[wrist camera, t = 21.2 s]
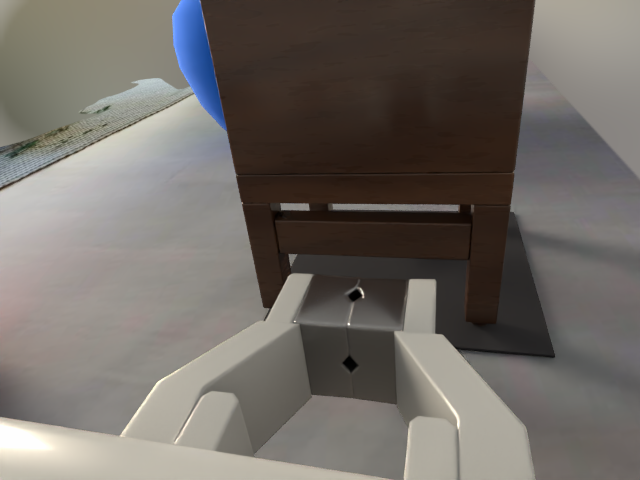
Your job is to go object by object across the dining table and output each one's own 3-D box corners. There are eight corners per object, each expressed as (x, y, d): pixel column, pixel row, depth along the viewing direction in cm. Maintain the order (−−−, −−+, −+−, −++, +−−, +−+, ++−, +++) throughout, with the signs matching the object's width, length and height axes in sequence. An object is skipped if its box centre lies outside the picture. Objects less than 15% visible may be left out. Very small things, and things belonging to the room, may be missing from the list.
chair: (495, 334, 18) (559, -195, 10) (264, 316, 21) (173, -120, 13) (478, 219, 27) (507, -121, 19) (315, 217, 29) (279, -85, 21)
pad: (554, 357, 17) (555, 355, 17) (259, 331, 20) (258, 329, 20) (513, 213, 27) (513, 212, 27) (320, 210, 30) (320, 209, 30)
